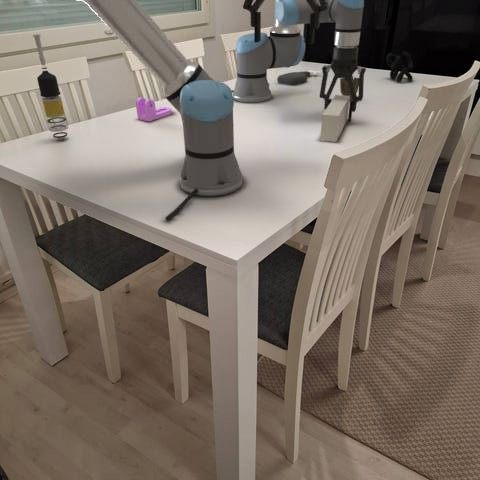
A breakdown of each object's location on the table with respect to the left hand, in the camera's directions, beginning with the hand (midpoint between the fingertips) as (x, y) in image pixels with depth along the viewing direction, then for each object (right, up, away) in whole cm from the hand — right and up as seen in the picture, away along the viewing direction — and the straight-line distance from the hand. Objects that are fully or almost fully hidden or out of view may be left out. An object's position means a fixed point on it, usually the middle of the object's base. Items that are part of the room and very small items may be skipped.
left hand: (283, 42), depth 109 cm
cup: (+31, +6, +64) cm, 72 cm away
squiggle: (+61, +23, +91) cm, 112 cm away
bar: (+20, -13, +35) cm, 42 cm away
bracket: (-41, -4, +51) cm, 65 cm away
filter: (-67, -17, +31) cm, 76 cm away
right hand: (+22, -8, +41) cm, 47 cm away
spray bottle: (+17, +25, +96) cm, 101 cm away
